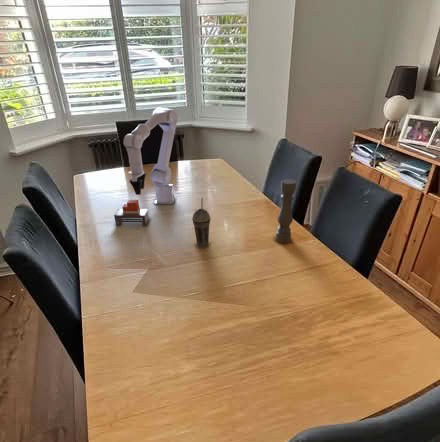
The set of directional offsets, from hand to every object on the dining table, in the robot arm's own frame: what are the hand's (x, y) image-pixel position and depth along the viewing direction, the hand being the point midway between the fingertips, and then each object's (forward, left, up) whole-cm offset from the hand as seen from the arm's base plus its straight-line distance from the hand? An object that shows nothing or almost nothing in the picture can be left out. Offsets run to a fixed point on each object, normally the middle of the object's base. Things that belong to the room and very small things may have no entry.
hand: (140, 191), depth 172 cm
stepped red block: (+2, +12, -5) cm, 13 cm away
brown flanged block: (+2, +12, -10) cm, 16 cm away
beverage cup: (-32, +34, -11) cm, 48 cm away
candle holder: (-66, +29, -11) cm, 73 cm away
